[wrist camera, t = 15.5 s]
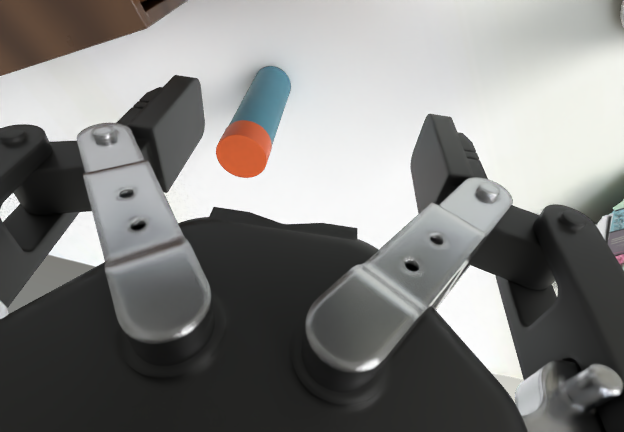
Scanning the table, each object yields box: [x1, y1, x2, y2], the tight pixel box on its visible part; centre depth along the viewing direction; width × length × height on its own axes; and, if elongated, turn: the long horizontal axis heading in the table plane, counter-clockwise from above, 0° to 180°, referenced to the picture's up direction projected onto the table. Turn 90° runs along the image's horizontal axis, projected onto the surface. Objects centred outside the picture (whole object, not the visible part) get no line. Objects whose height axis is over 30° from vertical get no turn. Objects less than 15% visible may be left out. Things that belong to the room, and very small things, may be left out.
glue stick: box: [216, 66, 291, 178], centre depth 28 cm, size 4×4×12 cm
